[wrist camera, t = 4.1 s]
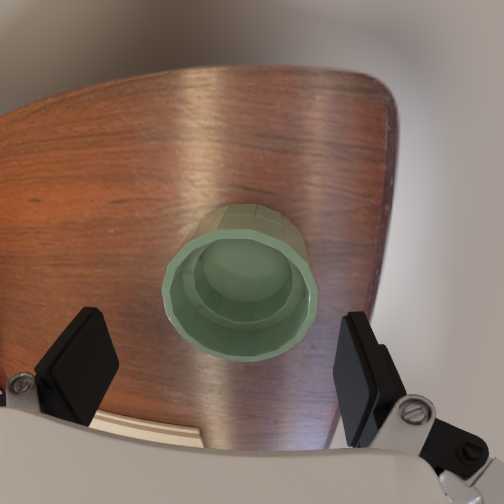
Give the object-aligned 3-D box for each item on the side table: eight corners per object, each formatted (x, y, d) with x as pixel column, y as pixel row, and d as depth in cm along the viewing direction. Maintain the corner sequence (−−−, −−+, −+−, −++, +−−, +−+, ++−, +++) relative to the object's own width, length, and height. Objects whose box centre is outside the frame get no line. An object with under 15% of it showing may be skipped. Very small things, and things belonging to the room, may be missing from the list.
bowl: (310, 200, 16) (323, 229, 11) (304, 311, 18) (311, 362, 14) (181, 202, 16) (151, 230, 12) (194, 309, 19) (175, 357, 15)
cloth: (199, 427, 24) (198, 431, 24) (216, 482, 30) (216, 484, 29) (74, 403, 25) (73, 405, 25) (117, 463, 31) (116, 465, 30)
